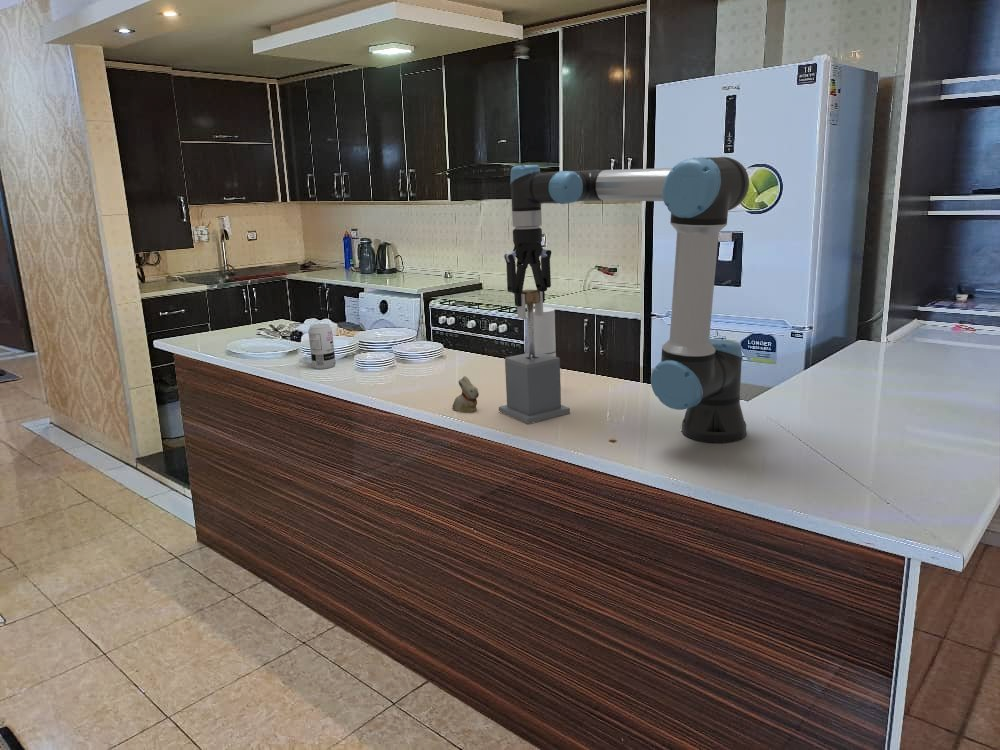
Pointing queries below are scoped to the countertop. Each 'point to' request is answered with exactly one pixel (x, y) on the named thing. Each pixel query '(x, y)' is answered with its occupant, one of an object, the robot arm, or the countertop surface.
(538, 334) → the cylindrical container
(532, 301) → the plunger
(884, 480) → the countertop surface
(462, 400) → the chocolate bunny
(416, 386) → the countertop surface
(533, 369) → the block
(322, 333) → the supplement can
